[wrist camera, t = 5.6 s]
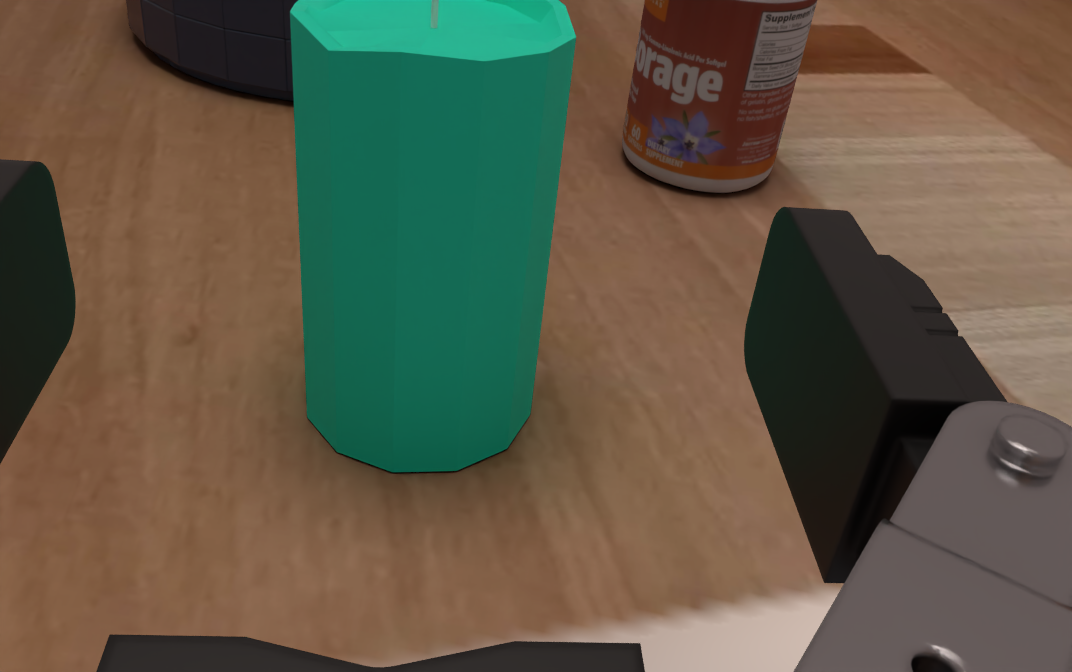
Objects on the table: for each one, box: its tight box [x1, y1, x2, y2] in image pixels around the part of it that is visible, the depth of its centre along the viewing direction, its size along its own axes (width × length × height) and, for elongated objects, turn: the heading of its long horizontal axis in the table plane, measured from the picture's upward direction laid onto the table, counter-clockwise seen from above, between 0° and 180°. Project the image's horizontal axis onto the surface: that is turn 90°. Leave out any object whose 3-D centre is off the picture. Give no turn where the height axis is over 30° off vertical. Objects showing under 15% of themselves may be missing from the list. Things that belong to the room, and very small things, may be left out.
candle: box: [290, 0, 576, 472], centre depth 24 cm, size 6×6×12 cm
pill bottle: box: [622, 0, 817, 193], centre depth 38 cm, size 6×6×11 cm
